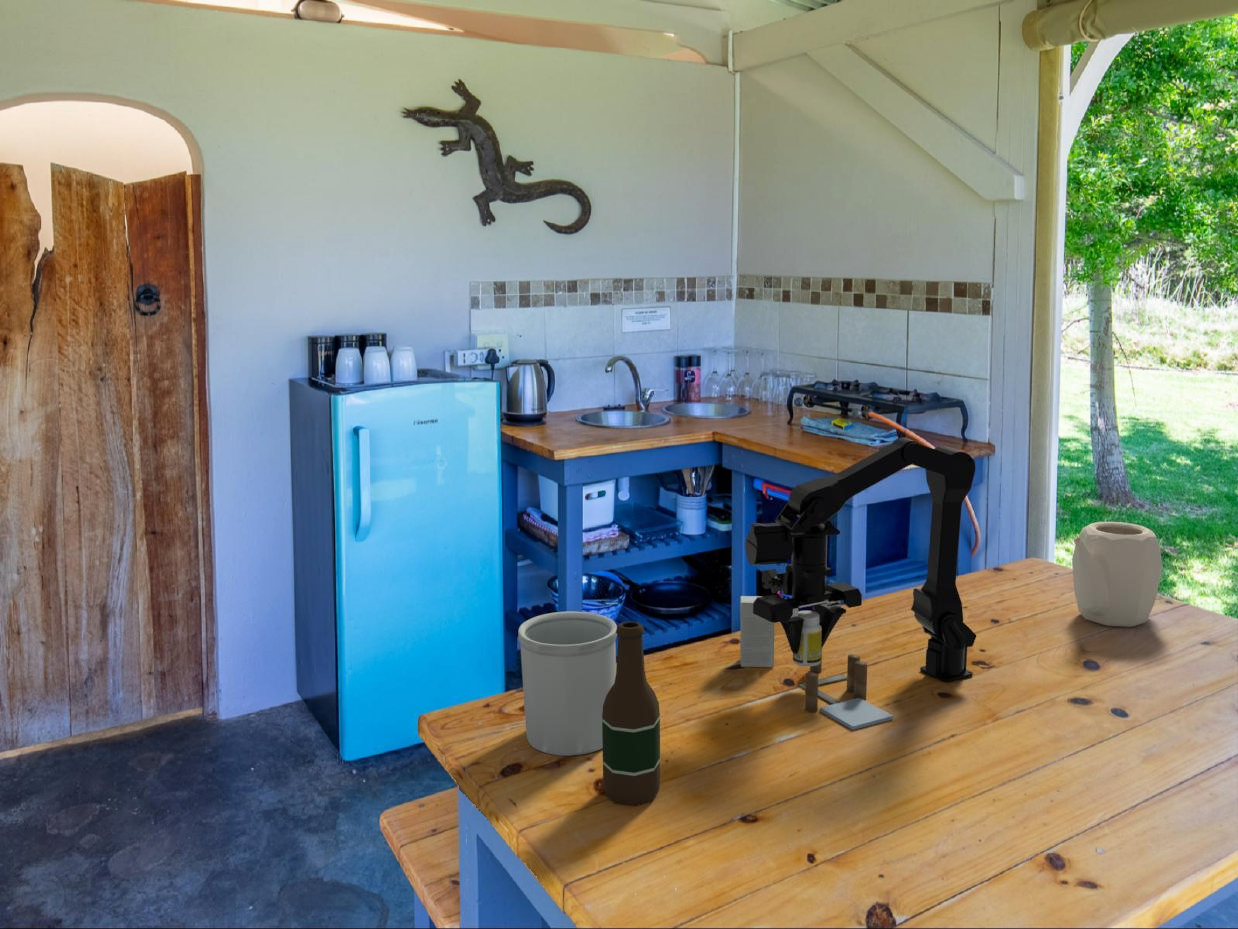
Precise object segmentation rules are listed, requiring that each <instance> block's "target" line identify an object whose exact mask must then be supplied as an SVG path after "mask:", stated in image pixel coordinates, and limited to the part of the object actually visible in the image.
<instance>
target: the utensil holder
mask: <svg viewBox="0 0 1238 929" xmlns="http://www.w3.org/2000/svg"><path fill="white" fill-rule="evenodd" d="M617 626H618V625H617V624H616V622H615V621H614V620H613V619H611V617H610V618H609V617H608V616H605V615H602V614H598V613H595V612H594V613H593V612H587V611H571V610H569V611H567V610H566V611H558V612H557V611H556V612H550V613H544V614H539V615H537V616H534V617H532V618H529V619H528V620H526V621H524V622H523V623H521V624H520V626H519V627H518V629H517V630H518V635H517V636H518V637H517V638H518V641H519V644H520V658H521V659H520V660H521V674H522V690H523V694H522V695H523V707H524V718H525V731H526V732H525V733H526V740H527V743H528V744H529V745H530V746H531V747H532V748H534V749H535V750H538V751H540V752H543V753H546V754H549V755H553V756H562V757H563V756H567V757H570V756H577V755H585V754H586V755H587V754H590V753H594V752H598V751H599V750H603V743H602V712H603V704H604V701H605V698H606V696H607V694H608V692H609V691H610V689H611V687H612V686H613V684H614V683H615V677H616V669H617V653H616V651H617V650H616V640H617V638H618V634H617V633H616V630H617Z"/></svg>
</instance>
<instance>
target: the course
mask: <svg viewBox="0 0 1238 929" xmlns="http://www.w3.org/2000/svg"><path fill="white" fill-rule="evenodd" d="M822 661H823V647H822V648H821V663H820V664H818V665H816V666H809V671H810V672H806V673H805V682H804V683H800V684H799V687H800V688H802V689H803V690H805V691H804V692H805V695H804V710H805V712H806V713H811V714H812V713H813V714H814V713H818V711H819V710H818V708H819V706H818V705H819V703H818V702H819V700H818V699H821V700H823V701H825V702H827V703H828V704H829V705H832V704H836V703H840V702H841V701H840V700H838V699H837V698H834V697H833V696H831V695H829V694H827V693H825V692H823V690H822V691H821V690H820V689H819V687H821V686H824V685H829V684H833V683H837V682H841V681H846V692H848V693H851V694H852V693H853V699H856V698H861V699H863V700H865V701H866V700H867V689H868V688H867V686H868V662H867V661H862V660H861V655H859V654H855V653H851V654H848V655H847V676H846V675H845V674H839V675H838V674H837V675H836V676H835V675H834V676H830V677H826V678H822V679H819V674H818V673H821V672H822V671H823V670H822V668H823V667H822V666H823V665H822V664H823V662H822Z"/></svg>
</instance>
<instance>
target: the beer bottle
mask: <svg viewBox="0 0 1238 929" xmlns="http://www.w3.org/2000/svg"><path fill="white" fill-rule="evenodd" d="M616 633H617V650H616V651H617V653H616V677H615V683H614V684H613V686H612V687H611V689H610V691H609V692H608V694H607V696H606V698H605V701H604V704H603V712H602V743H603V748H602V782H603V792H604V794H605V795H606V796H607V797H608V799H609V800H611V802H613V803H614V804H617V805H624V806H631V807H637V806H641V805H643V804H644V805H645V804H647V803H651V802H653V801H654V800H655V798H656V796H657V794H658V792H659V791H660V786H661V714H660V703H659V700H658V697H657V695H656V693H655V691H654V689H653V688H652V687H651V685H650V684H649V682H648V680H647V675H646V668H645V667H646V666H645V657H644V654H645V653H644V642H643V635H644V633H645V629H644V625H643V624H642V623H640V622H638V621H630V620H629V621H623V622H620V623H619V624H618V625H617V630H616Z"/></svg>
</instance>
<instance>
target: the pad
mask: <svg viewBox="0 0 1238 929" xmlns="http://www.w3.org/2000/svg"><path fill="white" fill-rule="evenodd" d="M819 712H821V713H823V714H824V715H826V716H828V718H829V717H830V718H831V719H833V720H834V721H836V722H838V723H840V724H842V725H843V726H845V727H847V728H849V729H850V730H852V731H854V730H859V729H861V728H866V727H869V726H873V725H877V724H881V723H885V722H888V721H891V720H894V715H892V714H891V713H889V712H887V711H885V710H883V709H881V708H880V707H877V706H876V705H874V704H872V703H870V702H868V701H866V699H865V700H863V699H861V698H856V699H854V698H853V699H850V700H845V701H840V703H836V704H828V705H823V706H821V707H819Z"/></svg>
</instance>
